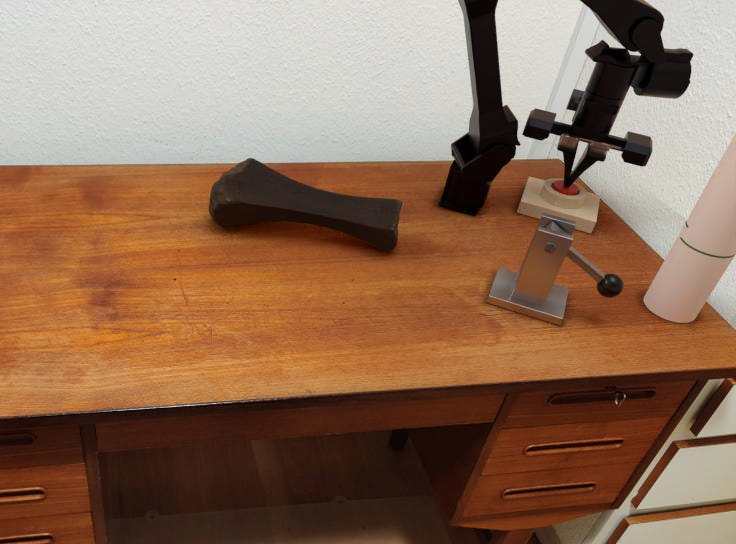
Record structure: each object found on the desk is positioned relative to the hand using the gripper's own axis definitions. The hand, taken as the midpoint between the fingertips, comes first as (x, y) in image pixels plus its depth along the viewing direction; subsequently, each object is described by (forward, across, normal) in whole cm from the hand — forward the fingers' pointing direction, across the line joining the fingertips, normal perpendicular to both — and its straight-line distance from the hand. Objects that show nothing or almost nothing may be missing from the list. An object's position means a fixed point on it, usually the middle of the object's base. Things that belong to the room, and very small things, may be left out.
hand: (566, 186), depth 119 cm
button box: (+4, 0, 0) cm, 4 cm away
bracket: (+4, +1, +29) cm, 29 cm away
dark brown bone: (+5, +35, +29) cm, 46 cm away
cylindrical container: (+5, -18, +20) cm, 27 cm away
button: (+2, 0, 0) cm, 2 cm away
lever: (-2, -3, +29) cm, 29 cm away
